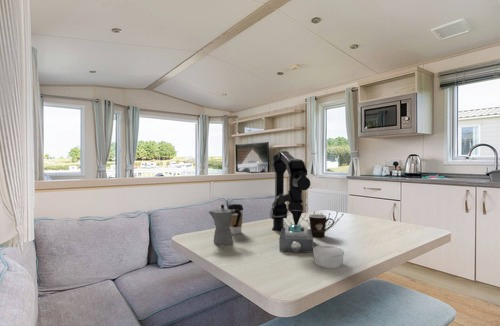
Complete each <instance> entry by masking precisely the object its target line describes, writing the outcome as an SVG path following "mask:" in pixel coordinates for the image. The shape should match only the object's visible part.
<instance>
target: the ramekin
mask: <svg viewBox="0 0 500 326" xmlns="http://www.w3.org/2000/svg"><path fill="white" fill-rule="evenodd" d="M312 253H313V256H314V262H315V264H316V265H317V266H318V267H321V268H325V269H336V268H337V269H339V268H340V267H341V266H342V265H343V260H344V255H345V251H344V250H343V249H342V248H340V247H338V246H334V245H328V244H326V245H317V246H313V252H312Z"/></svg>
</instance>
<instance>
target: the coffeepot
mask: <svg viewBox="0 0 500 326" xmlns="http://www.w3.org/2000/svg"><path fill="white" fill-rule="evenodd" d="M220 207H221V208H217V209H215V210H211V211H208V214H209V215H210V216H211V217H212V219H213V222H214V223H213V224H214V226H215V229H214V236H213V241H212V242H214V243H215V244H217V245H216V246H219V245H225V246H229V245H232V244H233V242H234V241H233V234H232V233H231V229H230V225H231V219H232V214H235V213H237V214H238V215H237V220H236V224H235V225H233V227H237V226H238V223H239V220H240V217H241V212H240V211H239V210H238V209H235V210H230V209H228V208H225V204H221V205H220ZM214 243H213V244H214ZM231 243H232V244H231ZM215 244H214V245H215ZM228 244H229V245H228Z"/></svg>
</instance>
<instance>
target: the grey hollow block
mask: <svg viewBox="0 0 500 326" xmlns="http://www.w3.org/2000/svg"><path fill="white" fill-rule="evenodd" d="M307 227H308V226H301V231H290V225H286V226H285V228H284V229H283V228H282V229H281V230H280V234H279V238H278V240H279V244H278V245H279V246H278V247H279V252H295V253H298V252H299V253H313V248H314V239H313V238H314V237H312V231H311V228H310V229H308V228H307Z"/></svg>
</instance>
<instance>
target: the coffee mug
mask: <svg viewBox="0 0 500 326" xmlns="http://www.w3.org/2000/svg"><path fill="white" fill-rule="evenodd" d="M308 220H309V227H310V229H311V231H312V237H313V238H319V239H321V238H325V233H326V231H327V230H329V229H330V228H331V227H333V225H334V224H335V221H334V219H332V218H330V217H329V218H327V215H326V214H325V215H324V214H321V213H320V214H319V213H318V214H317V213H316V214H309V215H308ZM329 220H331V221H332V223H331V225H329V226H328V227H326V225H327V223H328V221H329Z"/></svg>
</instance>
